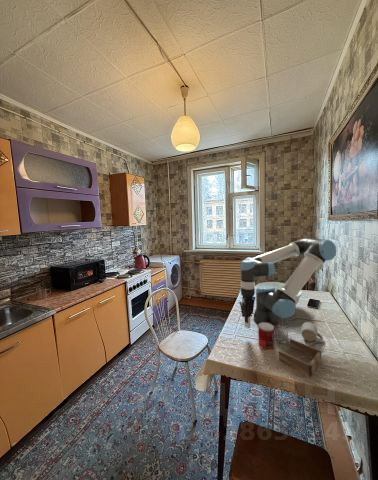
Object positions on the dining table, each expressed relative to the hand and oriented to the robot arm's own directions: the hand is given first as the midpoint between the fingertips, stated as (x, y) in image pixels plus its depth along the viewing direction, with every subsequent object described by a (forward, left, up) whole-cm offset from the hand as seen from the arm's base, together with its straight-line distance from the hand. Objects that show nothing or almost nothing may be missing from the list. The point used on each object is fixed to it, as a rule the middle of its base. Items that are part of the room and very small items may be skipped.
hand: (247, 327), depth 117 cm
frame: (0, +28, -6) cm, 29 cm away
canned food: (0, +11, -6) cm, 13 cm away
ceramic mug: (-24, +26, -6) cm, 36 cm away
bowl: (-48, -5, -6) cm, 49 cm away
